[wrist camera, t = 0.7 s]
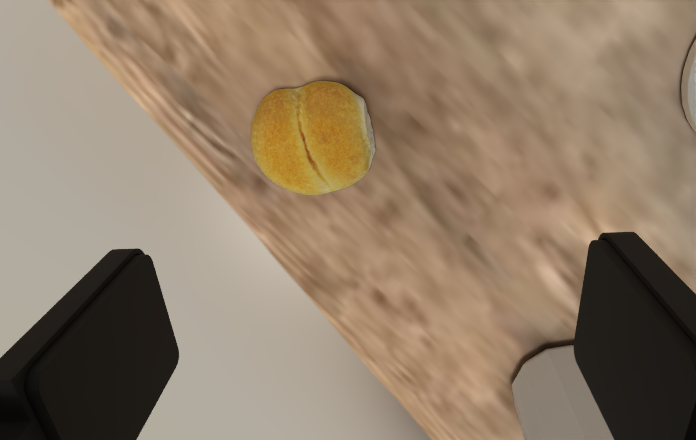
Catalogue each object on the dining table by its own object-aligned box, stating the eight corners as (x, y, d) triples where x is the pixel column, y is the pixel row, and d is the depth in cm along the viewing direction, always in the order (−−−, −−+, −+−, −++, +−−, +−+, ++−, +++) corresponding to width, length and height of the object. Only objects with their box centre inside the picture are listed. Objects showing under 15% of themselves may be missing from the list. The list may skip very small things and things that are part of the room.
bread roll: (241, 96, 36) (225, 109, 32) (360, 69, 35) (357, 79, 31) (274, 197, 39) (263, 219, 36) (383, 176, 38) (382, 196, 34)
